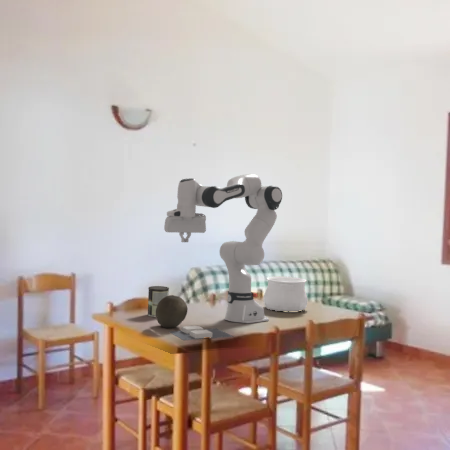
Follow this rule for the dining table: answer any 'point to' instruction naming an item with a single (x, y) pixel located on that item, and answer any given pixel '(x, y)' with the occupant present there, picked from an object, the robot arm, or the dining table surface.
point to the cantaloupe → (171, 311)
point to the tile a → (190, 329)
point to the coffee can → (156, 298)
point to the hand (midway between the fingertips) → (184, 242)
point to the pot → (285, 294)
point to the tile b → (200, 334)
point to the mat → (215, 334)
